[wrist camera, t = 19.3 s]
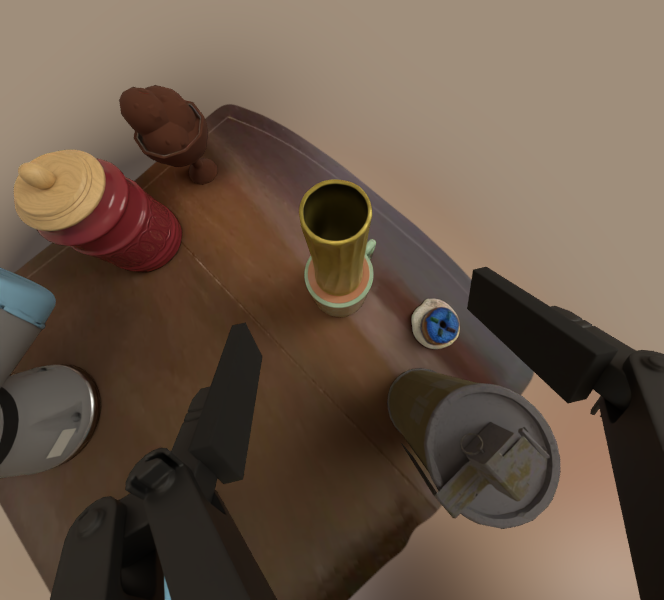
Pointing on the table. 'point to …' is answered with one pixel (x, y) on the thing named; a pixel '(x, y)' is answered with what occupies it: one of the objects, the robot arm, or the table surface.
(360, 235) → the vase
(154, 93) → the ice cream bowl
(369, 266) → the mug
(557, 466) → the canister
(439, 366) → the table surface
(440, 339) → the dessert
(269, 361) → the table surface
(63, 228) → the kitchen canister
